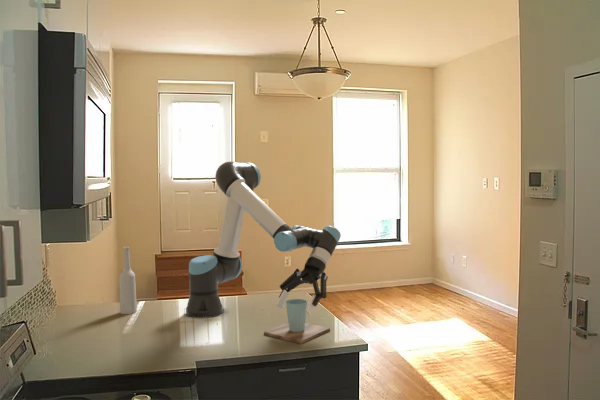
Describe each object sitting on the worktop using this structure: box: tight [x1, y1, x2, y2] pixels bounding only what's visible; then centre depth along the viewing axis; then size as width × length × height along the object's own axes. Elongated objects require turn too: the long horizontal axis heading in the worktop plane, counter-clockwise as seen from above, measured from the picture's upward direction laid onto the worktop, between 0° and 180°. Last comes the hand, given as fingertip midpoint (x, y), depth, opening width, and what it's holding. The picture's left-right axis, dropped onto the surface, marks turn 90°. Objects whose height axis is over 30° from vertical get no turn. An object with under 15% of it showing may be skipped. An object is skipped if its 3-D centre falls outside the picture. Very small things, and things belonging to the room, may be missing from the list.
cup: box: [285, 298, 308, 332], centre depth 178 cm, size 8×8×10 cm
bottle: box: [118, 246, 138, 315], centre depth 210 cm, size 7×7×28 cm
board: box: [263, 322, 331, 345], centre depth 179 cm, size 17×17×1 cm
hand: (292, 309), depth 176 cm, fingers open, 13 cm apart
